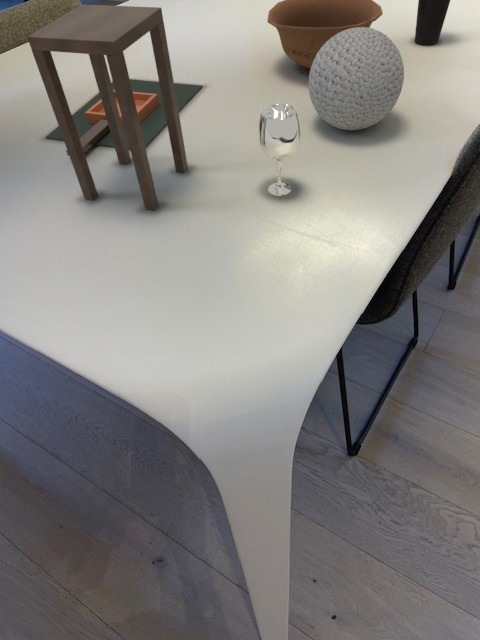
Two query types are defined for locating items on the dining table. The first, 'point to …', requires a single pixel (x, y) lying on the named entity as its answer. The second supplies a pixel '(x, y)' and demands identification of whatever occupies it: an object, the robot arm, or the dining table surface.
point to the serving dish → (98, 117)
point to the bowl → (317, 24)
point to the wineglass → (279, 138)
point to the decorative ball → (356, 78)
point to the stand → (110, 39)
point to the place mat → (148, 126)
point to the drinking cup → (430, 21)
